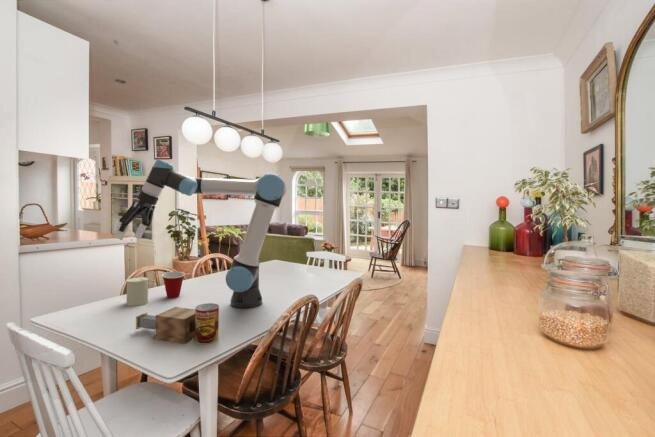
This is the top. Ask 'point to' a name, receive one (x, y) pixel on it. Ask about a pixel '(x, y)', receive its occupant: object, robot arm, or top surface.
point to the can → (137, 291)
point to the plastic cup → (173, 283)
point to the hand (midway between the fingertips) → (128, 238)
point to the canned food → (206, 323)
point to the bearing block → (175, 325)
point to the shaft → (147, 321)
